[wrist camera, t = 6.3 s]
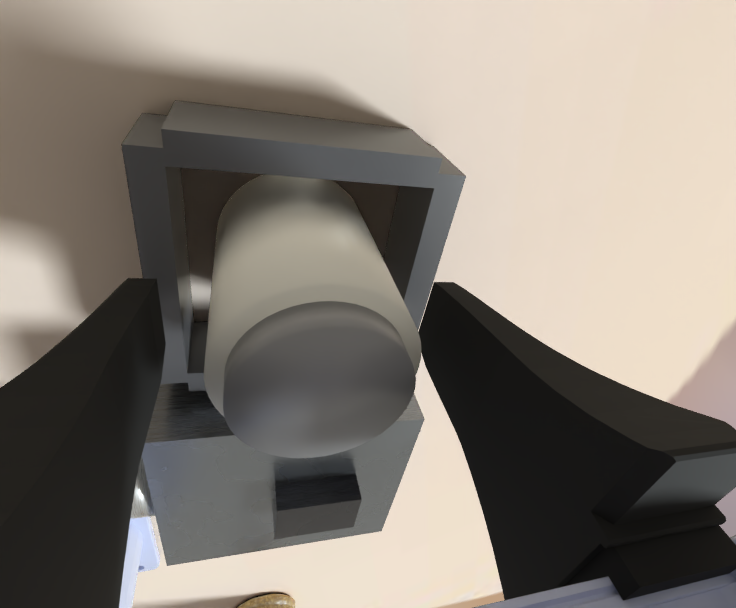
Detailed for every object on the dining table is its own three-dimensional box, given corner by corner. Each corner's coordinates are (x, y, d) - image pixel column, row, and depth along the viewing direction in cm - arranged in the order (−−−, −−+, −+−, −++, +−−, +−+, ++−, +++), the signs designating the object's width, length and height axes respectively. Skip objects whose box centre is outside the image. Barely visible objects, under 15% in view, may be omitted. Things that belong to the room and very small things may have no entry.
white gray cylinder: (216, 298, 15) (204, 477, 10) (215, 160, 12) (195, 308, 7) (351, 300, 16) (403, 458, 11) (376, 178, 13) (462, 311, 8)
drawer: (130, 479, 20) (103, 604, 16) (95, 351, 15) (46, 483, 11) (362, 454, 23) (387, 553, 19) (393, 342, 18) (434, 443, 14)
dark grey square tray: (174, 359, 16) (165, 413, 14) (140, 96, 11) (118, 124, 9) (380, 352, 18) (397, 397, 16) (436, 132, 13) (470, 161, 11)
